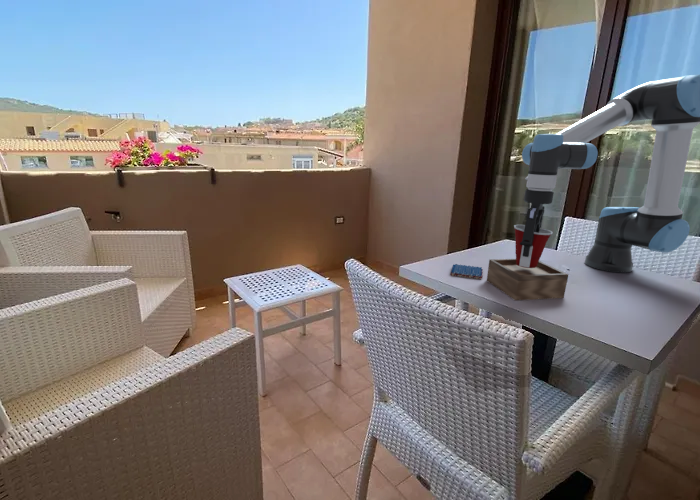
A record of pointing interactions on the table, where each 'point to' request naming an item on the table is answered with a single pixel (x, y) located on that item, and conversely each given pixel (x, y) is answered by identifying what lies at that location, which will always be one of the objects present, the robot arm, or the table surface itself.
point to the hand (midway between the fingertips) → (527, 262)
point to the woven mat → (467, 271)
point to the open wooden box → (526, 280)
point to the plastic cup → (537, 245)
